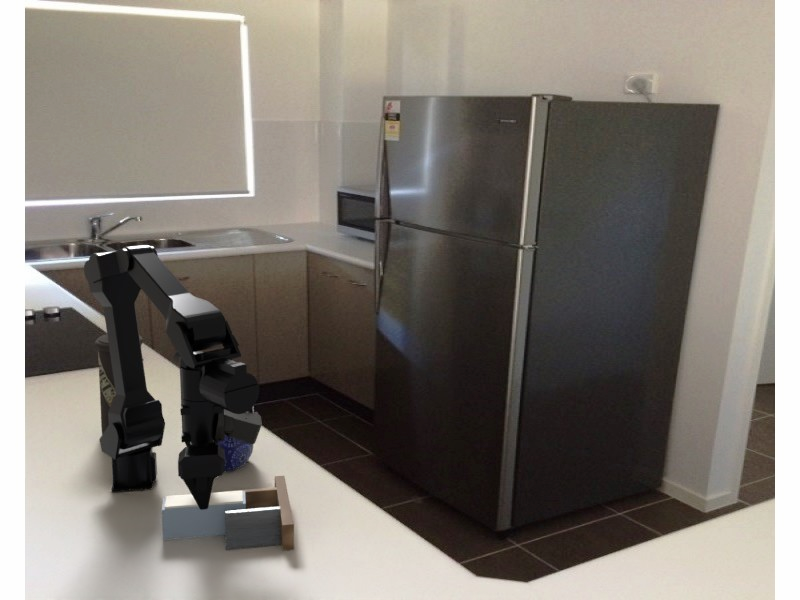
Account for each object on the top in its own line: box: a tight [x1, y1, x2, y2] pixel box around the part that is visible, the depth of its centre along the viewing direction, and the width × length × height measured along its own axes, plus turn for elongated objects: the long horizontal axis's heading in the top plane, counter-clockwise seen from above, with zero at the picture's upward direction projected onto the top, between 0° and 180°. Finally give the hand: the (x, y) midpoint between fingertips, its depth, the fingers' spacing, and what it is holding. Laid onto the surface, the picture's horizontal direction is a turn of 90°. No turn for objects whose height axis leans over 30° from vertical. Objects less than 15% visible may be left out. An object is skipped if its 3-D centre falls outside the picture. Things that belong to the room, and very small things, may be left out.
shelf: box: [224, 475, 295, 551], centre depth 116 cm, size 10×16×4 cm, turn 13°
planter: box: [216, 405, 255, 473], centre depth 136 cm, size 11×11×11 cm
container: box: [94, 333, 144, 436], centre depth 148 cm, size 9×9×20 cm
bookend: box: [224, 506, 282, 551], centre depth 111 cm, size 8×3×4 cm, turn 103°
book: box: [161, 490, 246, 541], centre depth 114 cm, size 12×4×5 cm, turn 102°
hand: (204, 494), depth 113 cm, fingers open, 9 cm apart
